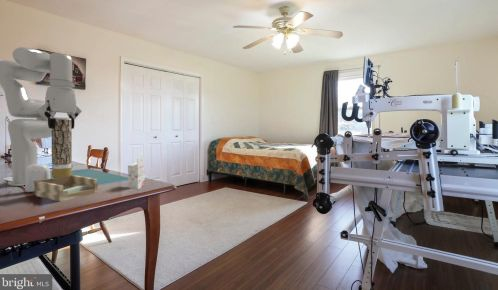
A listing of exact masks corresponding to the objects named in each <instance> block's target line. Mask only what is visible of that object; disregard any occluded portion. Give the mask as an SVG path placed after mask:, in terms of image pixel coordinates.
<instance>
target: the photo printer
mask: <svg viewBox="0 0 498 290" xmlns="http://www.w3.org/2000/svg"><path fill="white" fill-rule="evenodd" d="M50 178H52V169H51V168H50V167H49V166H48V165H45V164H42V163H41V164H40V163H37V164H34V165H29V166H27V167H26V168H25V186H24V190H25V192H27V193H32V192H34V181H38V180H44V179H50Z"/></svg>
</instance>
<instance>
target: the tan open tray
mask: <svg viewBox="0 0 498 290" xmlns="http://www.w3.org/2000/svg"><path fill="white" fill-rule="evenodd" d="M78 185H86V189H87V190H83V191H79V192H74V193H70V194H65V195H63V190H65V189H68V188H72V187H75V186H78ZM98 188H99V187H98V179H97V178H93V177H88V176H82V175H81V176H80V175H77V174H76V175H74V174H72V175H71V176H70V177H67V178H53V177H51V178H50V179H44V180H38V181H34V191H33V192H34V196H35V197H38V198H39V197H40V198H42V199H43V198H44V199H48V200H51V201H56V202H64V201H68V200H69V201H70V200H73V199H77V198H81V197H85V196H90V195H93V194H97V193H99V192H98V191H99V190H98Z"/></svg>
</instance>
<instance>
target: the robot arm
mask: <svg viewBox="0 0 498 290" xmlns="http://www.w3.org/2000/svg"><path fill="white" fill-rule="evenodd" d="M12 58H13V60H0V86H1V88H2V90H3V92H4V96H5V101H6V106H7V110H8V112H9V115H10V116H11V117H14V118H15V119H12V120H11V121H9V122H8V124H7V130H8V134H9V138H10V139H9V140H10V149H11V150H10V151H11V178H12V179H11V180H10V181H8V182H7V185H8V186H11V187H21V186H24V185H25V168H26V167H27V166H29V165H34V164H38V147H37V145H36V144H35V143H34V142H33V141H32V139H48V138H52V129H55V119H54V118H55V116H56V115H57V113H61V114H64V113H65V114H66V115H67V118H71V120H72V130H73V129H75V120H76V119H77V118H78V116H80V114H81V113H82V110H81V109H80V108H79V107H78V106H77V98H76V94H75V93H76V92H75V90H74V89H73V88H76V85H75V84H74V83H73V59H72V56H70V55H67V54H64V53H59V52H58V53H56V52H54V53H51V54H50V53H49V52H46V51H42V50H38V49H34V48H30V47H25V46H22V47H21V46H19V47H16V48H15V49H14V50H13V51H12ZM47 74H49V86H48V87H47V88H46V93H45V97H44V98H45V99H44V100H41V99H32V98H30V97H29V95H28V91H27V89H26V88H25V86H24V85H23V84H21V83H20V82H19V80H20V81H25V82H33V83H34V82H35V83H39V82H42V80H43V79H45V76H46V75H47ZM17 80H18V81H17ZM24 187H25V186H24Z"/></svg>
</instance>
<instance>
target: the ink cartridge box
mask: <svg viewBox="0 0 498 290" xmlns="http://www.w3.org/2000/svg"><path fill="white" fill-rule="evenodd" d="M145 167H146V164H145V157H140V158H138V159H136V162H134V163H131V164H128V165H127V179H128V180H127V181H128V182H127V183H128V184H127V187H128V189H133V190H139V189H141V188H143V187H144V186H145V177H146V176H145V173H146V172H145Z"/></svg>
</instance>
